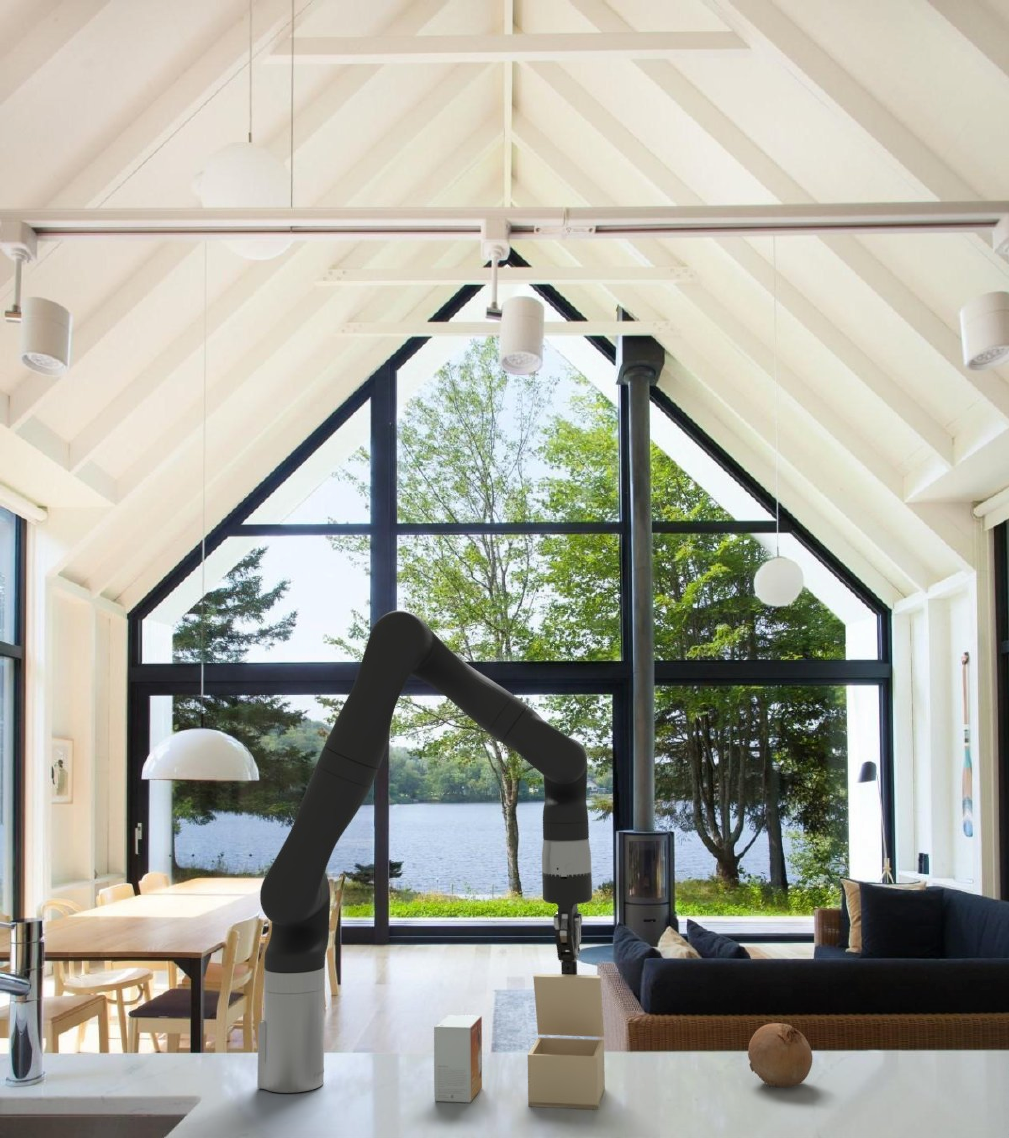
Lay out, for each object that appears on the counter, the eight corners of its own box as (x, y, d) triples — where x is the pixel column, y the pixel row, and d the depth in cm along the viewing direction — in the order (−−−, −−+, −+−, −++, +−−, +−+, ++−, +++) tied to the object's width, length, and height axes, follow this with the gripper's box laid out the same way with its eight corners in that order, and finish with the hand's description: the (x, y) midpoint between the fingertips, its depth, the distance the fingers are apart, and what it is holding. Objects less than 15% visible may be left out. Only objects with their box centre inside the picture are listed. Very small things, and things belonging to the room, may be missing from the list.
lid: (533, 976, 178) (534, 973, 179) (537, 1034, 181) (538, 1031, 182) (600, 978, 177) (600, 975, 177) (603, 1037, 179) (604, 1033, 180)
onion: (804, 1111, 176) (823, 1055, 174) (741, 1092, 177) (760, 1036, 175) (798, 1070, 185) (817, 1016, 183) (739, 1053, 186) (757, 998, 184)
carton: (528, 1106, 170) (527, 1055, 171) (538, 1086, 180) (538, 1037, 181) (598, 1109, 168) (597, 1057, 169) (604, 1088, 178) (603, 1039, 179)
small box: (471, 1104, 171) (470, 1027, 173) (433, 1102, 173) (433, 1026, 174) (483, 1088, 179) (482, 1015, 181) (447, 1086, 180) (446, 1013, 182)
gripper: (548, 864, 189) (551, 977, 187) (536, 875, 176) (538, 996, 174) (595, 864, 188) (598, 978, 186) (586, 875, 175) (590, 997, 173)
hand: (569, 987), depth 180 cm, fingers closed
